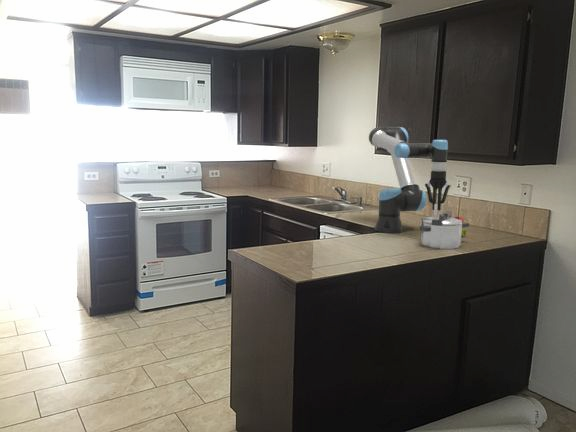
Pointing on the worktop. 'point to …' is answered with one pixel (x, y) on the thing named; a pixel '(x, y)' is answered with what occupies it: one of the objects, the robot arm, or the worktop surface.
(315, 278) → the worktop surface
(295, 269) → the worktop surface
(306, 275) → the worktop surface
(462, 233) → the bird rattle
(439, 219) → the lid
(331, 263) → the worktop surface
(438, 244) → the pot
